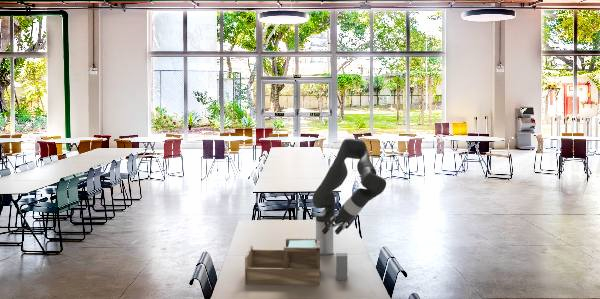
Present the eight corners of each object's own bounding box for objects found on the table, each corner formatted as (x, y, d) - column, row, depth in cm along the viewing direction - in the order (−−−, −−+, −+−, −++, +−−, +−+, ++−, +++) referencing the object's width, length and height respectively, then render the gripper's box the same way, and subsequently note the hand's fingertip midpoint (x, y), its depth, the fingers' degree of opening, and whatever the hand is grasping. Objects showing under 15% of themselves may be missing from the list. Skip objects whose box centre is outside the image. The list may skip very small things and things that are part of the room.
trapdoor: (289, 242, 281) (289, 240, 281) (315, 242, 281) (315, 239, 281) (288, 249, 269) (287, 247, 269) (314, 249, 269) (314, 247, 269)
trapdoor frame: (250, 269, 288) (250, 236, 286) (320, 270, 286) (320, 237, 285) (245, 283, 268) (244, 248, 266) (319, 284, 267) (319, 249, 265)
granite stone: (336, 276, 279) (336, 252, 277) (346, 276, 278) (347, 253, 277) (336, 279, 274) (336, 256, 272) (347, 279, 273) (347, 256, 272)
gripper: (357, 203, 270) (336, 226, 277) (336, 201, 260) (315, 226, 267) (365, 215, 266) (344, 239, 273) (344, 214, 256) (322, 239, 263)
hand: (329, 232), depth 270 cm, fingers open, 8 cm apart
